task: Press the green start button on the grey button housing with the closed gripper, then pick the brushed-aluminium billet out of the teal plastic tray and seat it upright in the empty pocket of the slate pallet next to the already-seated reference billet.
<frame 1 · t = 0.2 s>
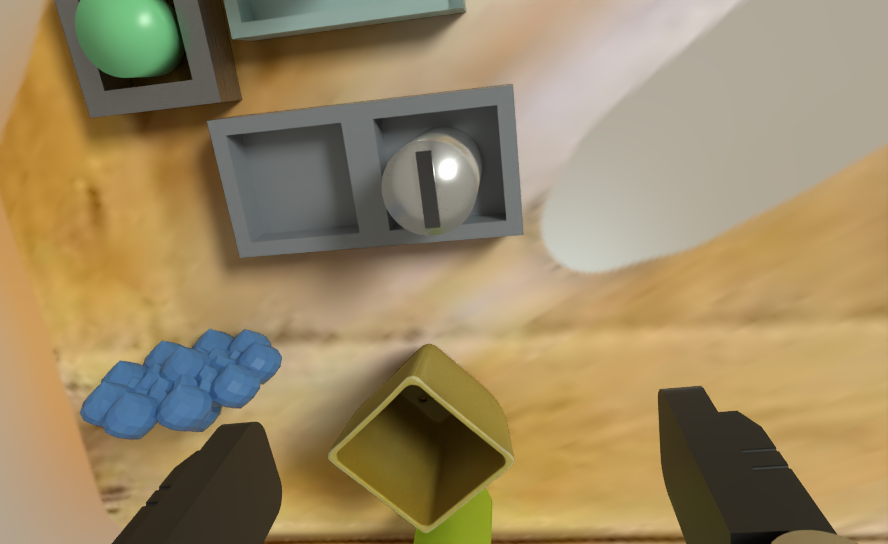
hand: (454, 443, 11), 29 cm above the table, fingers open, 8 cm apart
grey button housing: (162, 36, 37), on the table
reference billet: (444, 165, 37), point 1 cm above the table, touching pallet
start button: (132, 33, 34), point 3 cm above the table, slide at 0.0 cm
pallet: (377, 169, 39), on the table
grapes: (231, 349, 45), on the table
soap dispenser: (451, 499, 48), on the table
flower pot: (436, 384, 44), on the table
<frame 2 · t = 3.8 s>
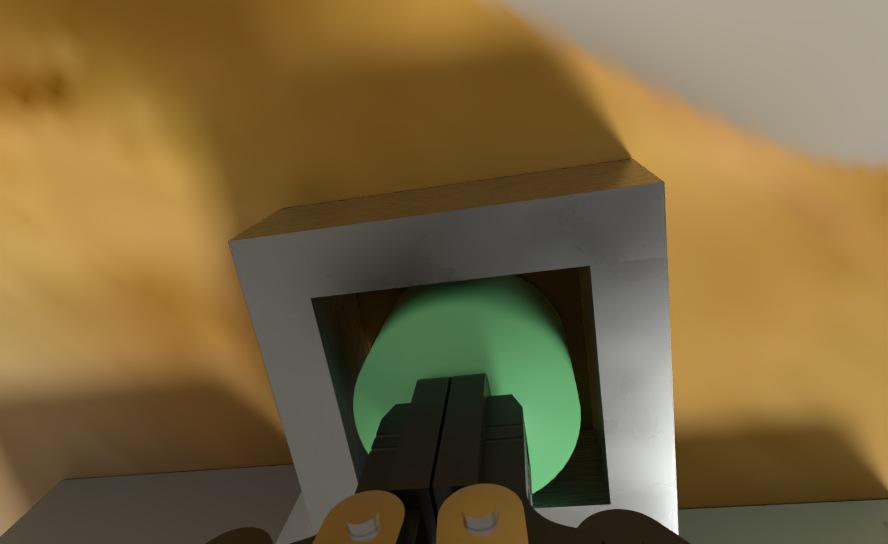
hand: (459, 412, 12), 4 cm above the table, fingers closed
grey button housing: (474, 345, 16), on the table
start button: (469, 381, 14), point 2 cm above the table, slide at 1.2 cm
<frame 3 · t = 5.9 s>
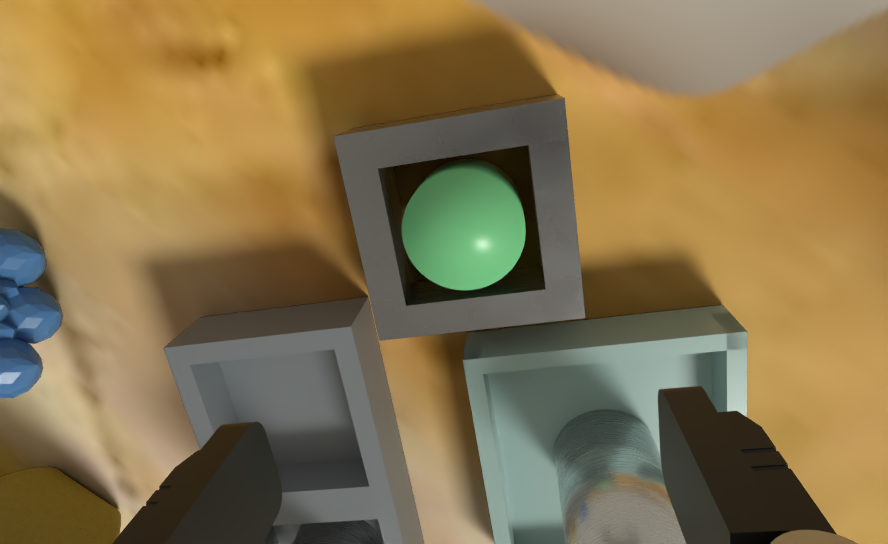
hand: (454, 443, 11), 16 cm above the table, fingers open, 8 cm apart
grey button housing: (468, 212, 26), on the table
billet: (604, 451, 29), point 1 cm above the table, touching tray
tray: (601, 441, 30), on the table
start button: (465, 222, 24), point 2 cm above the table, slide at 1.4 cm
pallet: (326, 463, 32), on the table
grapes: (24, 254, 29), on the table
flower pot: (72, 507, 35), on the table
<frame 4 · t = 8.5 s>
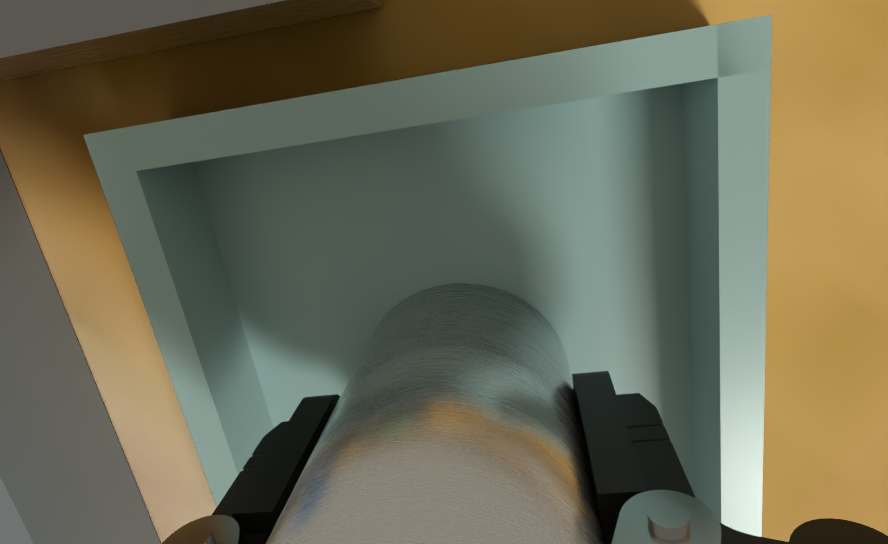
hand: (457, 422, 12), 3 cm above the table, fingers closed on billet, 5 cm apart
billet: (465, 379, 14), point 1 cm above the table, touching gripper, tray
tray: (467, 363, 15), on the table
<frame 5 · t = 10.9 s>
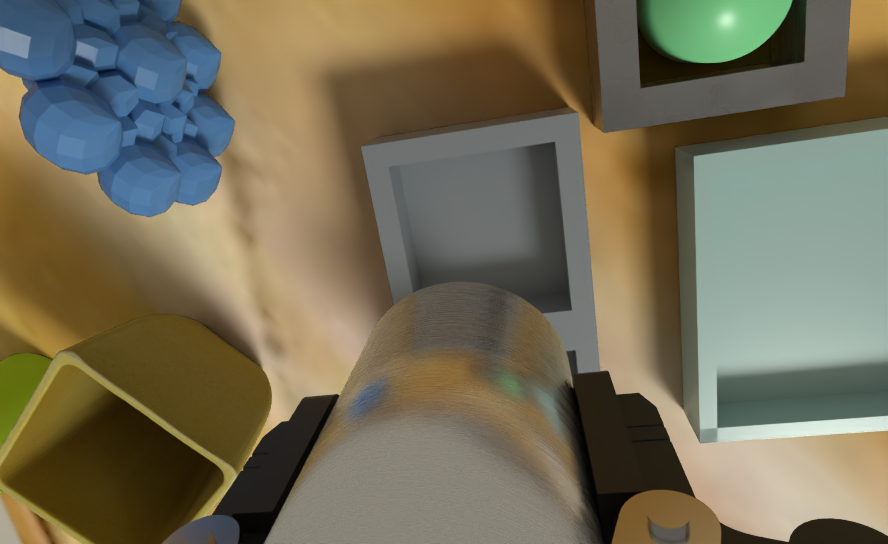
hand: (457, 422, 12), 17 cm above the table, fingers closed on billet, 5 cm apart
billet: (464, 378, 14), point 15 cm above the table, touching gripper
tray: (810, 275, 27), on the table
pallet: (498, 309, 30), on the table
grapes: (189, 69, 27), on the table
soap dispenser: (43, 387, 35), on the table
flower pot: (210, 370, 33), on the table
when the fingers open (5 cm above the table, at t = 13.5 s): billet drops 2 cm, resting on pallet.
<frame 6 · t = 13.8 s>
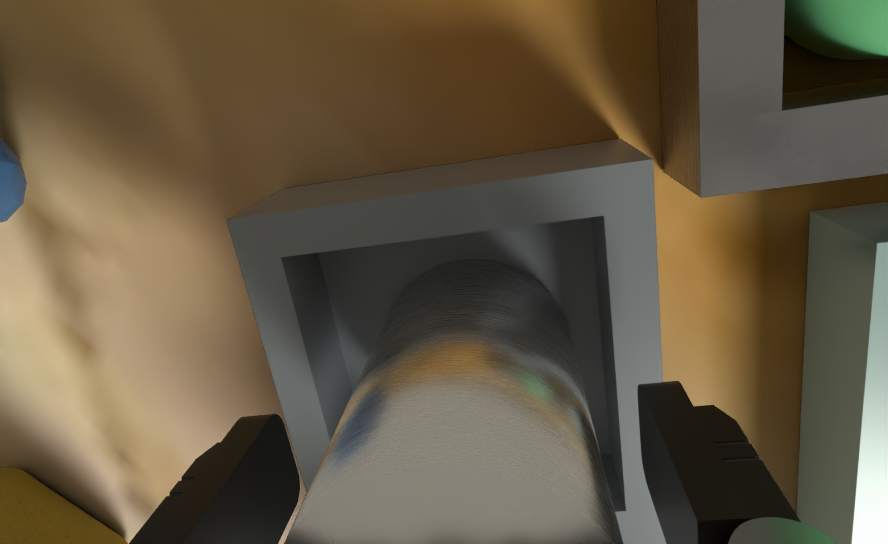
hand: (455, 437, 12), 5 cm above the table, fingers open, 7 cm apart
billet: (475, 347, 15), point 1 cm above the table, touching pallet
pallet: (492, 463, 18), on the table
flower pot: (51, 533, 21), on the table
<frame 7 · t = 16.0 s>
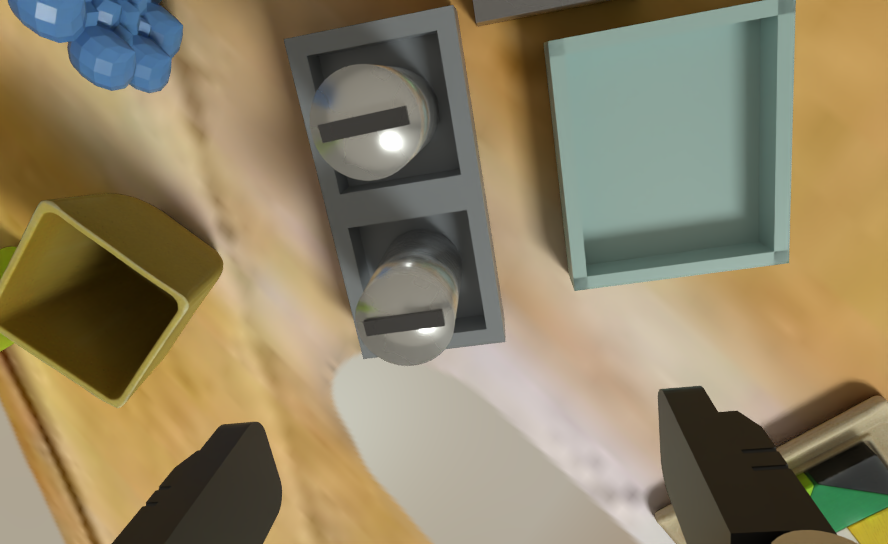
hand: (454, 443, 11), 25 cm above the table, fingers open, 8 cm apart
billet: (395, 113, 33), point 1 cm above the table, touching pallet
tray: (659, 150, 33), on the table
reference billet: (423, 267, 36), point 1 cm above the table, touching pallet
wooden puzzle: (815, 528, 43), on the table
pallet: (411, 189, 35), on the table
soap dispenser: (29, 278, 40), on the table
flower pot: (173, 256, 39), on the table
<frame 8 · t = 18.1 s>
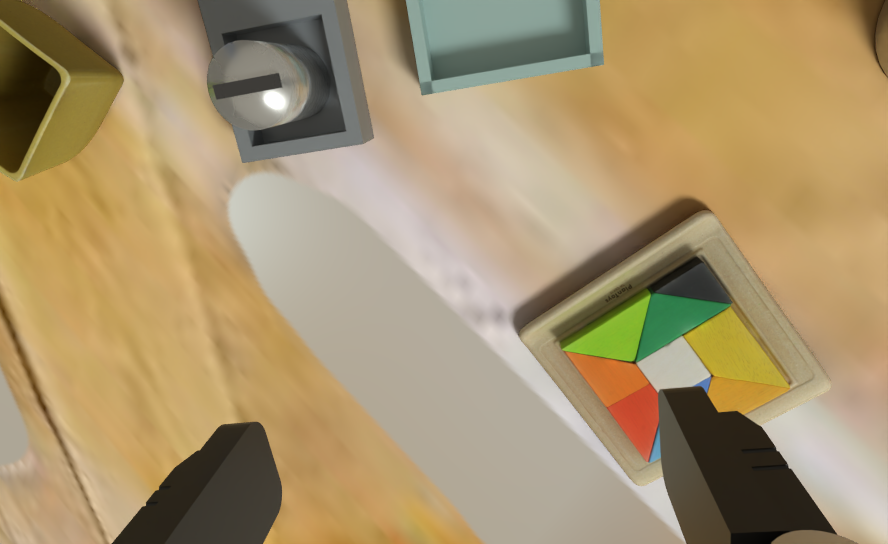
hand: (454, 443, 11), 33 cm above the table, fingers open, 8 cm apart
reference billet: (296, 82, 41), point 1 cm above the table, touching pallet
wooden puzzle: (667, 352, 47), on the table
pallet: (285, 12, 40), on the table
flower pot: (85, 81, 44), on the table
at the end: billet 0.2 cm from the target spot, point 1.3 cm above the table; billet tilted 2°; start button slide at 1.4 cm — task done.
